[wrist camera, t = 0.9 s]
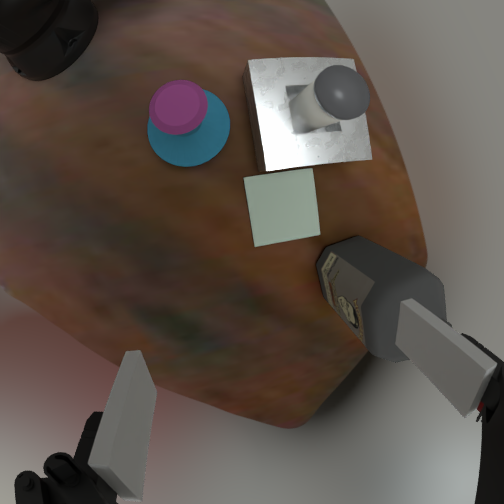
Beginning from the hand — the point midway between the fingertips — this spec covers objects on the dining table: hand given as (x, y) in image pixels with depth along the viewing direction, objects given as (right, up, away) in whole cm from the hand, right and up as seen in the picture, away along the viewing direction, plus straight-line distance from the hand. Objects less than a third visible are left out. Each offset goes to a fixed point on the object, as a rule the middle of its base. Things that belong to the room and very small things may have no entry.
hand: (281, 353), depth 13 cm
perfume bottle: (-9, +20, +21) cm, 30 cm away
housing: (+5, +22, +22) cm, 31 cm away
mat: (+3, +11, +25) cm, 27 cm away
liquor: (+12, +2, +28) cm, 31 cm away
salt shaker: (+5, +22, +20) cm, 30 cm away
